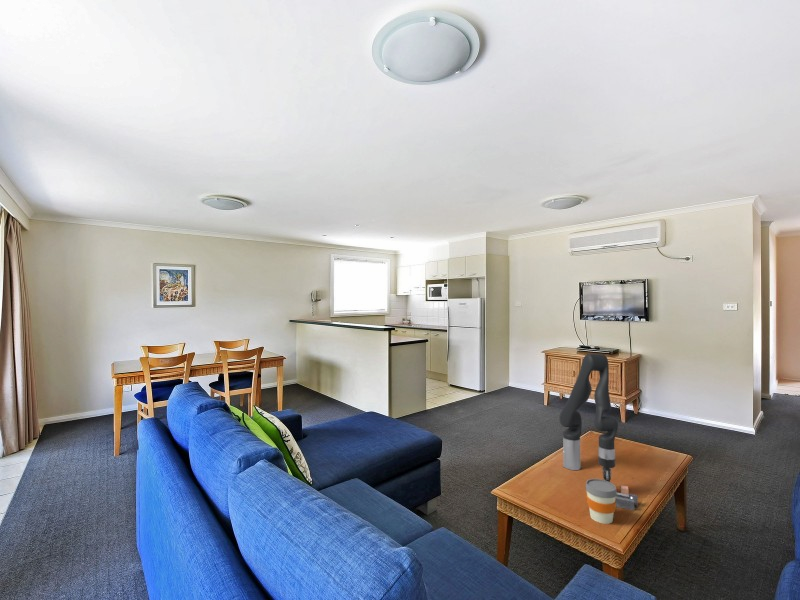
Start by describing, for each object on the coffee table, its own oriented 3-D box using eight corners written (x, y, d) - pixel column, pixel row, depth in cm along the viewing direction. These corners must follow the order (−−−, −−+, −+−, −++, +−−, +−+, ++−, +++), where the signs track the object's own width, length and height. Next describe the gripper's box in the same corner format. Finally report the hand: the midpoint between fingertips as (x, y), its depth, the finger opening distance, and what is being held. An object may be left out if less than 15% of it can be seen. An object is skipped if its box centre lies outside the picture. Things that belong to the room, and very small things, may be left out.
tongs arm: (597, 498, 188) (597, 489, 188) (598, 495, 191) (598, 486, 191) (637, 508, 179) (637, 498, 179) (637, 504, 182) (637, 494, 182)
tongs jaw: (598, 503, 184) (598, 495, 184) (598, 500, 187) (598, 492, 187) (634, 510, 177) (634, 501, 177) (633, 507, 180) (633, 499, 180)
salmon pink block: (621, 497, 189) (621, 487, 189) (621, 494, 191) (620, 485, 191) (628, 499, 187) (628, 488, 187) (628, 496, 190) (627, 486, 190)
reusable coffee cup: (609, 529, 163) (608, 495, 163) (580, 516, 173) (580, 483, 173) (622, 519, 170) (621, 486, 170) (594, 507, 181) (593, 475, 181)
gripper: (598, 450, 200) (598, 482, 200) (598, 459, 188) (599, 494, 189) (614, 452, 197) (614, 485, 197) (615, 462, 185) (616, 497, 185)
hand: (607, 489), depth 193 cm, fingers closed
